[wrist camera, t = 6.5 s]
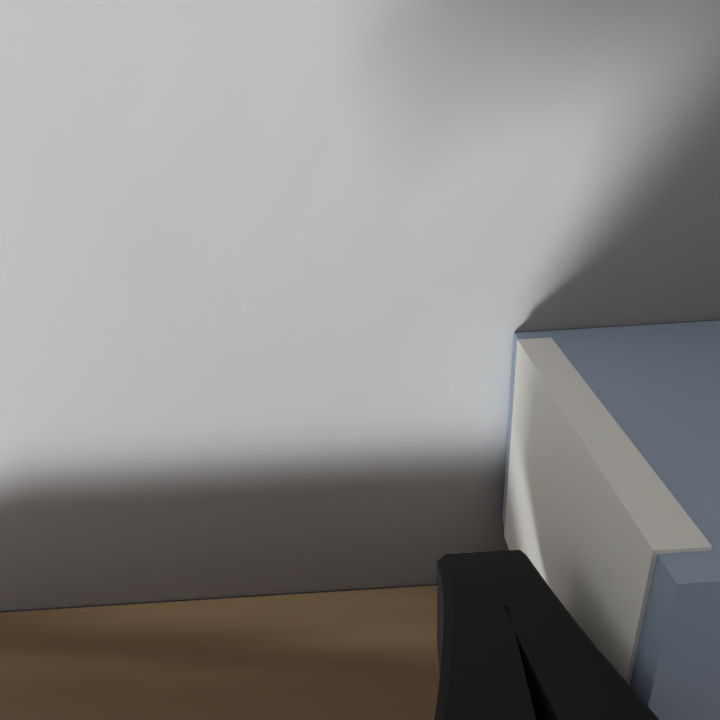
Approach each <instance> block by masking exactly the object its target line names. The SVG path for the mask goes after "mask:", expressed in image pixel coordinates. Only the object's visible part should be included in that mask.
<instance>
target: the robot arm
mask: <svg viewBox="0 0 720 720" xmlns="http://www.w3.org/2000/svg"><path fill="white" fill-rule="evenodd" d="M437 651H438V659H439V670H440V678H439V689H438V698H437V705H436V711H435V718H434V720H660V719H659V718H658V717H657V716H656V715H655V714H654V713H653V712H652V711H651V709H650V708H649V707H648V706H647V705H646V704H645V703H644V702H643V700H642V699H641V698H640V697H639V696H638V695H637V694H636V693H635V691H634V690H633V689H632V688H631V687H630V686H629V684H628V683H627V682H626V681H625V680H624V679H623V677H622V676H621V675H620V674H619V673H618V672H617V670H616V669H615V668H614V667H613V666H612V664H611V663H610V662H609V661H608V660H607V659H606V657H605V656H604V655H603V654H602V653H601V652H600V650H599V649H598V648H597V647H596V646H595V644H594V643H593V642H592V641H591V639H590V638H589V637H588V636H587V635H586V633H585V632H584V631H583V630H582V628H581V627H580V626H579V625H578V623H577V622H576V621H575V619H574V618H573V617H572V616H571V614H570V613H569V612H568V611H567V609H566V608H565V607H564V605H563V604H562V603H561V601H560V600H559V599H558V598H557V596H556V595H555V594H554V592H553V591H552V590H551V588H550V587H549V586H548V584H547V583H546V582H545V580H544V579H543V577H542V576H541V575H540V573H539V572H538V571H537V569H536V568H535V566H534V565H533V564H532V562H531V561H530V559H529V558H528V556H527V555H526V554H525V553H523V552H522V551H521V550H507V551H491V552H476V553H460V554H445V555H444V556H443V557H442V558H440V559H439V560H438V561H437Z"/></svg>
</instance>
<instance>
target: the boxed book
mask: <svg viewBox="0 0 720 720" xmlns="http://www.w3.org/2000/svg"><path fill="white" fill-rule="evenodd" d="M502 522H503V525H504V528H505V531H504V537H505V540H506V543H507V546H508V548H509V550H521V551H522V552H523V553H525V554H526V555H527V556H528V558H529V559H530V561H531V562H532V564H533V565H534V566H535V568H536V569H537V571H538V572H539V573H540V575H541V576H542V577H543V579H544V580H545V582H546V583H547V584H548V586H549V587H550V588H551V590H552V591H553V592H554V594H555V595H556V596H557V598H558V599H559V600H560V601H561V603H562V604H563V605H564V607H565V608H566V609H567V611H568V612H569V613H570V614H571V616H572V617H573V618H574V619H575V621H576V622H577V623H578V625H579V626H580V627H581V628H582V630H583V631H584V632H585V633H586V635H587V636H588V637H589V638H590V639H591V641H592V642H593V643H594V644H595V646H596V647H597V648H598V649H599V650H600V652H601V653H602V654H603V655H604V656H605V657H606V659H607V660H608V661H609V662H610V663H611V664H612V666H613V667H614V668H615V669H616V670H617V672H618V673H619V674H620V675H621V676H622V677H623V679H624V680H625V681H626V682H627V683H628V684H629V686H630V687H631V688H632V689H633V690H634V691H635V693H636V694H637V695H638V696H639V697H640V698H641V699H642V700H643V702H644V703H645V704H646V705H647V706H648V707H649V708H650V709H651V711H652V712H653V713H654V714H655V715H656V716H657V717H658V718H659V719H660V720H720V320H717V321H701V322H685V323H668V324H652V325H635V326H619V327H602V328H586V329H570V330H553V331H537V332H520V333H514V342H513V358H512V374H511V389H510V405H509V421H508V436H507V452H506V467H505V483H504V499H503V514H502Z"/></svg>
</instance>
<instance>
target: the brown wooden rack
mask: <svg viewBox="0 0 720 720" xmlns="http://www.w3.org/2000/svg"><path fill="white" fill-rule="evenodd" d="M439 678H440V670H439V659H438V651H437V585H433V586H417V587H401V588H385V589H369V590H353V591H336V592H320V593H304V594H288V595H272V596H256V597H240V598H224V599H208V600H192V601H176V602H160V603H144V604H128V605H112V606H96V607H80V608H64V609H48V610H32V611H16V612H0V720H434V718H435V711H436V705H437V698H438V689H439Z"/></svg>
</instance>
